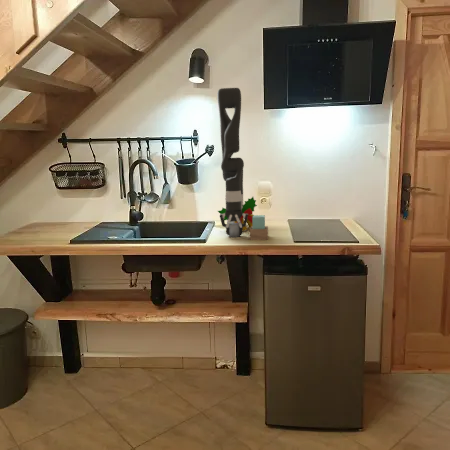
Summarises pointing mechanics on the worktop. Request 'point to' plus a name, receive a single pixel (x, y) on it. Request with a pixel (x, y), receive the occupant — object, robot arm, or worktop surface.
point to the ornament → (247, 208)
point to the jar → (234, 230)
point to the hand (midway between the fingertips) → (234, 234)
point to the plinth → (259, 233)
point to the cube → (258, 221)
